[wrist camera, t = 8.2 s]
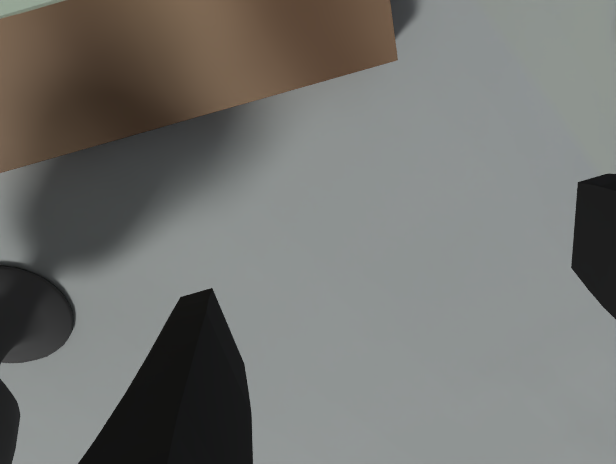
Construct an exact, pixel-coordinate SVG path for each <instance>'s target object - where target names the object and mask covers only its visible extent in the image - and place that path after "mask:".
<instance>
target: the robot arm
mask: <svg viewBox="0 0 616 464" xmlns="http://www.w3.org/2000/svg"><path fill="white" fill-rule="evenodd" d="M571 268H572V269H573V271H574V272H575V273H576V274H577V276H578V277H579V278H580V279H581V281H582V282H583V283H584V285H585V286H586V287H587V288H588V290H589V291H590V292H591V293H592V294H593V296H594V297H595V298H596V299H597V300H598V301H599V303H600V304H601V305H602V306H603V307H604V308H605V309H606V310H607V311H608V312H609V313H610V314H611V315H612V316H613V317H614V318H615V319H616V174H605V175H601V176H598V177H595V178H591V179H588V180H584V181H581V182H578V188H577V201H576V214H575V227H574V240H573V253H572V266H571ZM78 464H253V451H252V417H251V407H250V399H249V392H248V385H247V379H246V372H245V366H244V362H243V360H242V358H241V355H240V353H239V351H238V348H237V346H236V343H235V341H234V339H233V336H232V334H231V332H230V329H229V327H228V324H227V322H226V320H225V317H224V315H223V313H222V310H221V308H220V305H219V303H218V301H217V298H216V296H215V294H214V291H213V289H212V288H211V289H207V290H204V291H200V292H197V293H193V294H190V295H186V296H183V297H180V299H179V301H178V302H177V304H176V306H175V308H174V309H173V311H172V313H171V314H170V316H169V318H168V320H167V322H166V323H165V325H164V327H163V329H162V331H161V333H160V334H159V336H158V338H157V340H156V342H155V343H154V345H153V347H152V349H151V350H150V352H149V354H148V356H147V357H146V359H145V361H144V363H143V364H142V366H141V368H140V369H139V371H138V373H137V375H136V376H135V378H134V380H133V381H132V383H131V385H130V386H129V388H128V390H127V391H126V393H125V395H124V396H123V398H122V399H121V401H120V402H119V404H118V405H117V407H116V409H115V410H114V412H113V413H112V415H111V416H110V418H109V419H108V421H107V422H106V424H105V425H104V427H103V429H102V430H101V432H100V433H99V435H98V436H97V438H96V439H95V441H94V442H93V443H92V445H91V446H90V448H89V449H88V451H87V452H86V453H85V455H84V456H83V458H82V459H81V460H80V462H79V463H78Z"/></svg>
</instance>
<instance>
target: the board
mask: <svg viewBox="0 0 616 464" xmlns="http://www.w3.org/2000/svg"><path fill="white" fill-rule="evenodd" d="M396 60H398V58H397V50H396V43H395V35H394V27H393V19H392V12H391V4H390V0H65V1H62V2H58V3H55V4H51V5H48V6H44V7H41V8H38V9H34V10H31V11H27V12H24V13H20V14H16V15H12V16H8V17H5V18H1V19H0V173H2V172H5V171H9V170H12V169H16V168H19V167H23V166H27V165H30V164H34V163H37V162H41V161H44V160H48V159H51V158H55V157H58V156H62V155H65V154H69V153H72V152H76V151H79V150H83V149H86V148H90V147H93V146H97V145H100V144H104V143H108V142H111V141H115V140H118V139H122V138H125V137H129V136H132V135H136V134H139V133H143V132H146V131H150V130H153V129H157V128H160V127H164V126H167V125H171V124H174V123H178V122H181V121H185V120H189V119H192V118H196V117H199V116H203V115H206V114H210V113H213V112H217V111H220V110H224V109H227V108H231V107H234V106H238V105H241V104H245V103H248V102H252V101H255V100H259V99H262V98H266V97H270V96H273V95H277V94H280V93H284V92H287V91H291V90H294V89H298V88H301V87H305V86H308V85H312V84H315V83H319V82H322V81H326V80H329V79H333V78H336V77H340V76H343V75H347V74H350V73H354V72H358V71H361V70H365V69H368V68H372V67H375V66H379V65H382V64H386V63H389V62H393V61H396Z"/></svg>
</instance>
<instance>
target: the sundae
mask: <svg viewBox="0 0 616 464" xmlns="http://www.w3.org/2000/svg"><path fill="white" fill-rule="evenodd" d="M72 330H73V314H72V310H71V307H70V305H69V303H68V301H67V300H66V298H65V297H64V295H63V294H62V293H61V292H60V291H59V290H58V289H57V288H56V287H55V286H54V285H52V284H51V283H49V282H48V281H47V280H45V279H44V278H42V277H40V276H38V275H35V274H33V273H31V272H28V271H25V270H22V269H19V268H14V267H6V266H0V364H1V363H23V362H27V361H32V360H37V359H40V358H43V357H47V356H48V355H50V354H52V353H53V352H55V351H57V350H58V349H59V348H60V347H62V346H63V345H64V344H65V342H66V341H67V339H68V338H69V336H70V334H71V332H72ZM19 420H20V411H19V407H18V403H17V401H16V400H15V398H14V396H13V395H12V393H11V392H10V391H9V389H8V388H7V387H6V385H5V384H4V383H3V382H2V380H1V379H0V464H12V460H13V456H14V452H15V448H16V441H17V434H18V427H19Z"/></svg>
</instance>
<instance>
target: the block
mask: <svg viewBox="0 0 616 464" xmlns="http://www.w3.org/2000/svg"><path fill="white" fill-rule="evenodd" d="M62 1H65V0H0V19H1V18H5V17H8V16H12V15H16V14H20V13H24V12H27V11H31V10H34V9H38V8H41V7H44V6H48V5H51V4H55V3H58V2H62Z"/></svg>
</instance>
